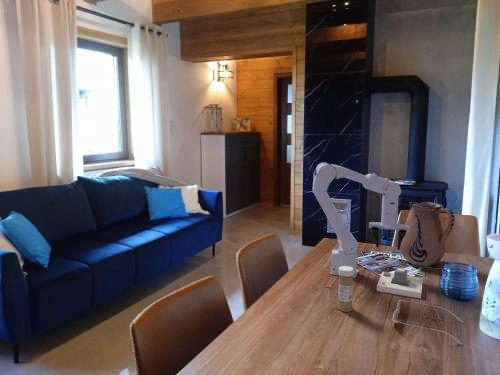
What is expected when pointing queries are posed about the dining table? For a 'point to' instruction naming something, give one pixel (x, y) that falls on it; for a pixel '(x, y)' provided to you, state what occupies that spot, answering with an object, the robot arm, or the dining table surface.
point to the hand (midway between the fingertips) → (388, 247)
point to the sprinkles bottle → (345, 288)
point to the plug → (400, 276)
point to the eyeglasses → (423, 327)
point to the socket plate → (411, 290)
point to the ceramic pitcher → (425, 234)
